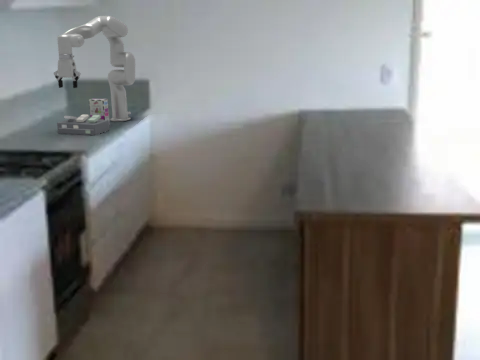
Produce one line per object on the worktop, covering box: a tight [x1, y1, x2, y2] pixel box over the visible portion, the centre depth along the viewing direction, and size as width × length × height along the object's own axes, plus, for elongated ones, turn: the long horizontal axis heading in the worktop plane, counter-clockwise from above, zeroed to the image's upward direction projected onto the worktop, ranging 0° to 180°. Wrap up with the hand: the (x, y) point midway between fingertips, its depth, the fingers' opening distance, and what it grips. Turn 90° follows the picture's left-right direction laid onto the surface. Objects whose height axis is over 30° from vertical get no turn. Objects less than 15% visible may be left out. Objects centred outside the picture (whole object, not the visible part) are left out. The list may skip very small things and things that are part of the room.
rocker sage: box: [87, 115, 101, 123], centre depth 403 cm, size 7×4×2 cm, turn 157°
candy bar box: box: [88, 98, 111, 127], centre depth 423 cm, size 11×5×16 cm, turn 62°
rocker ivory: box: [76, 113, 90, 122], centre depth 406 cm, size 7×4×2 cm, turn 157°
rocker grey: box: [63, 115, 79, 120], centre depth 409 cm, size 7×4×2 cm, turn 157°
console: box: [56, 119, 110, 136], centre depth 407 cm, size 14×26×7 cm, turn 67°
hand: (68, 87), depth 399 cm, fingers open, 9 cm apart
